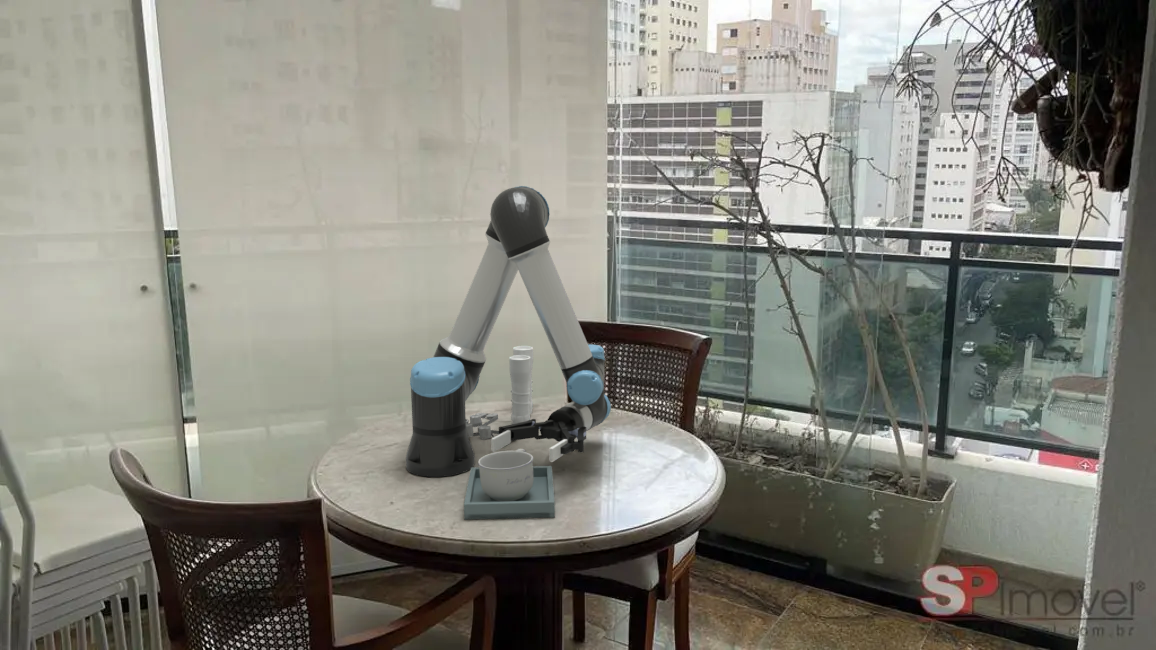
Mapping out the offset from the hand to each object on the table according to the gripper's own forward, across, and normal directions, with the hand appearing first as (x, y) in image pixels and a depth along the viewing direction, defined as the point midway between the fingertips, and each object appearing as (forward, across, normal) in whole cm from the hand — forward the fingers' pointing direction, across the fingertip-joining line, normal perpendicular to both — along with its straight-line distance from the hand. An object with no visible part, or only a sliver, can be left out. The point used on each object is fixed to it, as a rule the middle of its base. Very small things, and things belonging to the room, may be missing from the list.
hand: (521, 450), depth 169 cm
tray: (+4, 0, -9) cm, 10 cm away
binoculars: (-45, +26, -9) cm, 53 cm away
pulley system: (-31, +31, -10) cm, 44 cm away
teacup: (+4, 0, -8) cm, 9 cm away
